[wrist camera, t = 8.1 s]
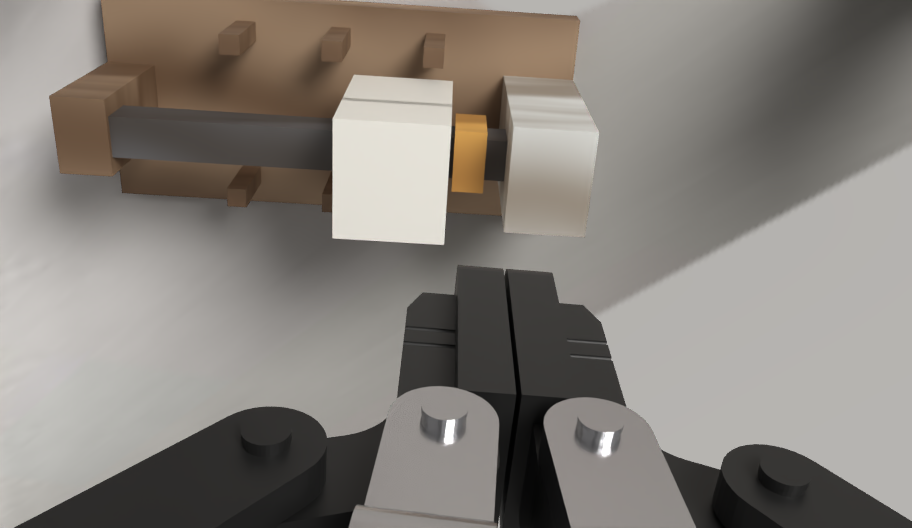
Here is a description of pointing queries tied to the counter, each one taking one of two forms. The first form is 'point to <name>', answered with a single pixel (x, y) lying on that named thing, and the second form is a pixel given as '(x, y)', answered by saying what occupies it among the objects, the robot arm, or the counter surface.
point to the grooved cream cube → (392, 160)
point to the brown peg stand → (329, 102)
